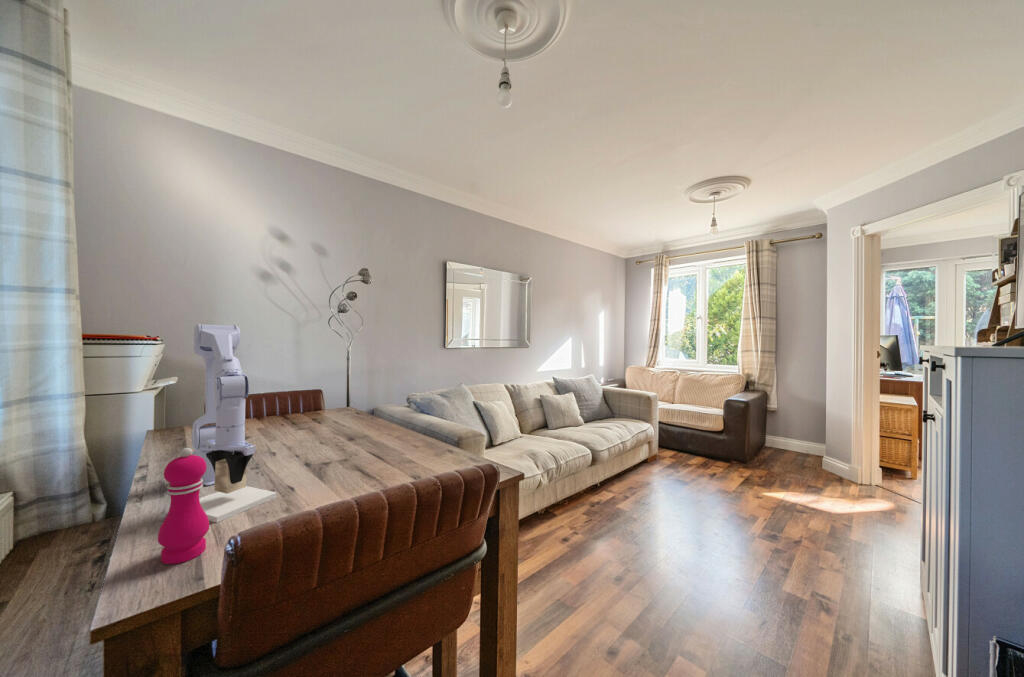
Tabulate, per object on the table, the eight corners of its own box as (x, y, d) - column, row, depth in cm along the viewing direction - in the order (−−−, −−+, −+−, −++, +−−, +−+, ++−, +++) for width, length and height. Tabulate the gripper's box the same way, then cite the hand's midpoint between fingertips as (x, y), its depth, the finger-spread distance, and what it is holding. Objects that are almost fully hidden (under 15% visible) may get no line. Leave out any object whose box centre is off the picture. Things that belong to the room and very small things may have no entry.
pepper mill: (164, 571, 64) (167, 456, 64) (151, 557, 68) (153, 449, 68) (215, 551, 70) (217, 446, 70) (200, 539, 74) (202, 440, 74)
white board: (176, 511, 85) (176, 506, 85) (238, 488, 98) (238, 484, 98) (216, 522, 81) (217, 517, 81) (276, 497, 94) (276, 492, 94)
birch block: (214, 490, 88) (215, 461, 88) (233, 484, 93) (234, 456, 93) (227, 493, 87) (228, 463, 87) (246, 486, 91) (246, 458, 91)
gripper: (192, 425, 88) (191, 482, 88) (233, 431, 83) (232, 491, 83) (223, 419, 95) (222, 472, 95) (264, 425, 90) (262, 480, 90)
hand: (229, 480), depth 89 cm, fingers closed on birch block, 4 cm apart
